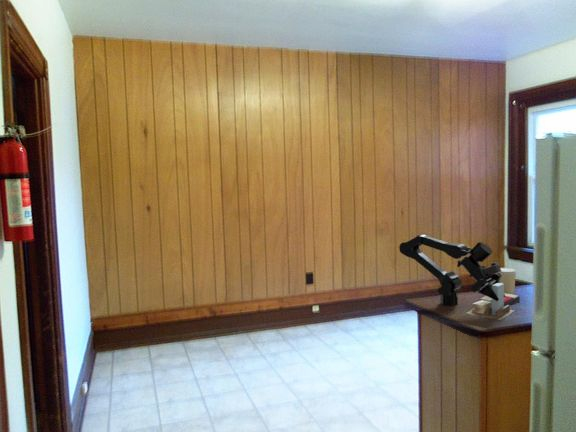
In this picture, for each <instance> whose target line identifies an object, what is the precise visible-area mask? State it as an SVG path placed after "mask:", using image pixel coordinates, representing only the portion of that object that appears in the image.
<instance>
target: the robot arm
mask: <svg viewBox="0 0 576 432" xmlns="http://www.w3.org/2000/svg"><path fill="white" fill-rule="evenodd" d="M422 245H423V246H426V247H430V248H432V249H435V250H437V251H441V252H444V253H445V254H447V256H448V257H451V258H452V259H454V260H457V265H456V266H457V268H460V267H462V266H463V268H464V269H465V270H466V271H467V272H468V274H469V278H473V279H474V280H475V282H474V283H473V284H472V285H470V290H471V292H473V294H475V293H478V294H482V295H484V296H488V297H490V298H492V299H494V300H496V301H498V300H499V298H498V297H497V295H496V294H495V293H494V291H493V290H492V285H494V284H496V283H500V280H501V279H500V278H501V277H502V275H501V274H500V273H498V272H500V271H501V269H500V268H502V265H500V263H499V262H492V263H490V264H491V265H490V266H488V267H486V265H481V264H480V263H483V262H484V261H486V260H487V259H488V258H489V257H491V255H493V250H492V248H491V247H490V246H489V245H487V244H486V243H483V242H482V241H478V242H477V243H475V245H474V247H468V246H467V245H466V244H464V243H460V242H459V243H458V242H447V241H445V240H440V239H437V238H435V237H432V236H428V235H426V234H423V233H422V234H418V235H417V236H415V237H413V238H412V239H410V240H408V241H403V242H401V243H400V244H399V247H398V249H399V253H400V254H401V255H404V256H405V257H408V258H410V259H413V260H414V261H416V262H417V263H418V264H419V265H421V266H422V267H423V268H424V269H425V270H426V271H428V272H429V273H430V274H432V276H434V277H435V278H436V279H437V280H438V282H439V284H440V287H438V288H437V292H438V294H439V297H440V298H439V299H440V300H439V301H440V305H442V306H445V307H446V306H447V307H451V306H455V305H456V306H457V305H459V304H458V303H459V302H458V301H459V299H458V298H459V296H458V295H457V292H459V290H460V289H461V287H462V285H463V282H462V279H461V278H460V275H458V274H456V273H455V271H453V270H451V271H446V270H445V269H443V268H442V267H441V266H440V265H438V264H437V263H435V262H434V261H433V260H432V259H431V258H430V257H428V256H427V255H426V254H425V253H423V252H422V250H421V248H420V246H422ZM468 255H469V256H468ZM461 258H462V259H461ZM458 259H460V260H458ZM504 297H505V294H504Z"/></svg>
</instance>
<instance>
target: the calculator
mask: <svg viewBox="0 0 576 432" xmlns="http://www.w3.org/2000/svg"><path fill="white" fill-rule="evenodd" d="M504 294H505V297H504V307H505V306H506V305H510V306H511V305H514V304H515V303H517V304H520V303H521V299H520V297H521V296H519V295H516V294H514V295H512V294H507V293H504ZM481 300H484V301H489V302H492V298H490V297H488V296H486V295H484V296H483V297H480V299H478V301H481Z"/></svg>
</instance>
